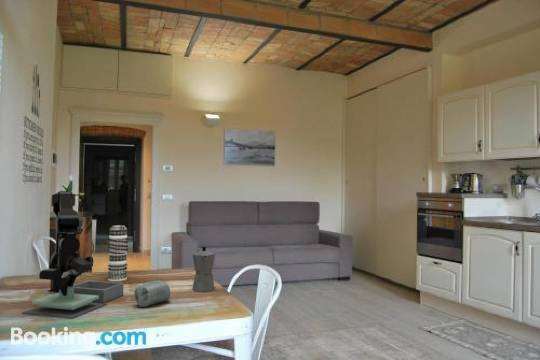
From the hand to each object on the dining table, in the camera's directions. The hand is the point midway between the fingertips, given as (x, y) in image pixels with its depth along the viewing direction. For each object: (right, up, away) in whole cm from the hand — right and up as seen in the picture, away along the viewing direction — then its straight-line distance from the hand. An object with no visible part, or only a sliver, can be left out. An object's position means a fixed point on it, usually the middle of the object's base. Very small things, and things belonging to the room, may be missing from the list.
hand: (66, 295), depth 142 cm
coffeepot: (+43, -6, +31) cm, 53 cm away
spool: (+28, -6, +7) cm, 29 cm away
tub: (+4, -5, +15) cm, 16 cm away
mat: (0, -5, 0) cm, 5 cm away
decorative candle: (0, -7, +49) cm, 49 cm away
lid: (0, -3, 0) cm, 3 cm away
